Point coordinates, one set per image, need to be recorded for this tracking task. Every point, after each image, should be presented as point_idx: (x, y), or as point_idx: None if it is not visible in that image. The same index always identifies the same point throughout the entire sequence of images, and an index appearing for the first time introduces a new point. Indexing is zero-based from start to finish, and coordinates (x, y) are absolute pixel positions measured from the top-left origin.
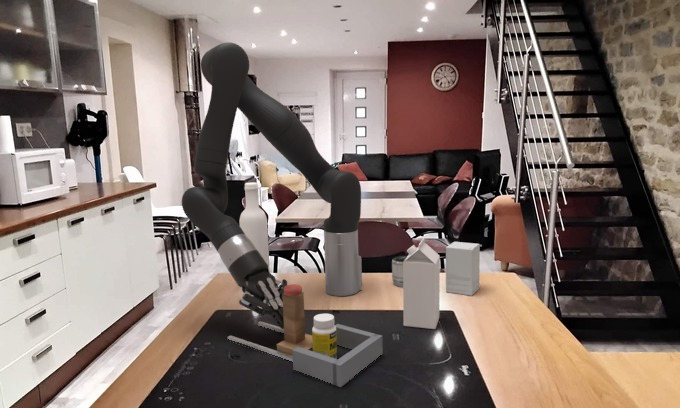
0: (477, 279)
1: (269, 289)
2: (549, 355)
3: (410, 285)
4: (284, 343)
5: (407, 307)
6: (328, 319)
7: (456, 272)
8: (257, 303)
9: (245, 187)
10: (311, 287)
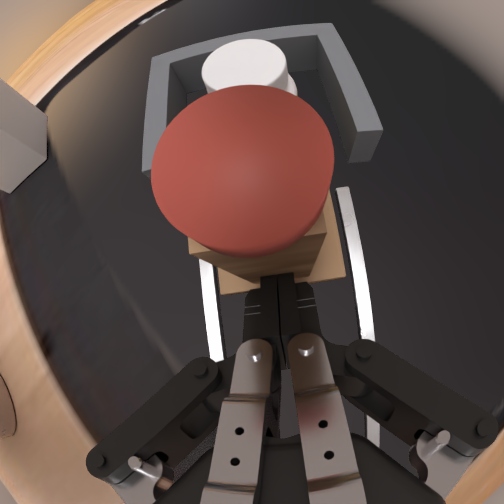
0: None
1: (263, 469)
2: (86, 19)
3: None
4: (322, 260)
5: (20, 134)
6: (248, 43)
7: None
8: (427, 380)
9: None
10: (26, 471)
